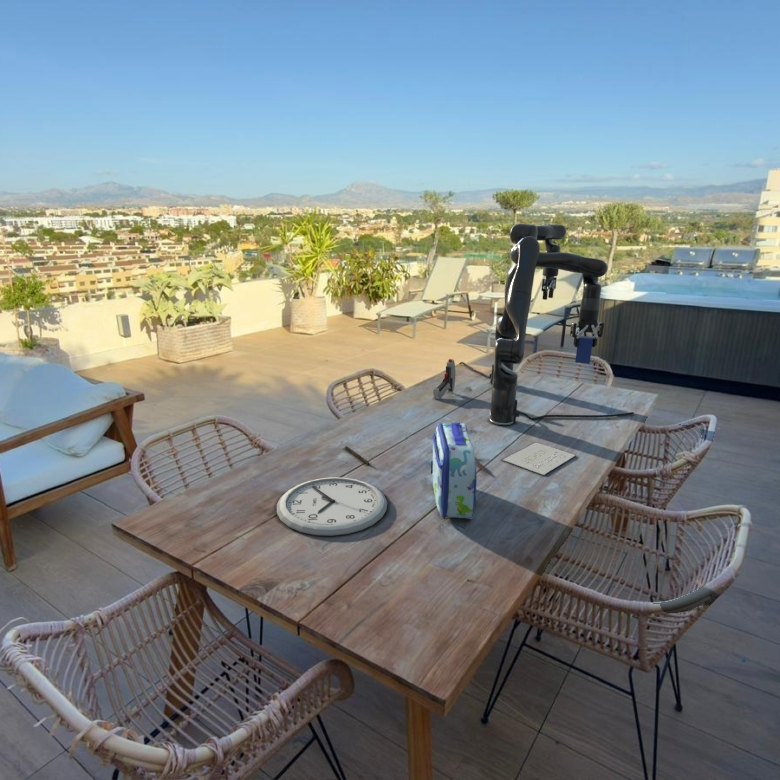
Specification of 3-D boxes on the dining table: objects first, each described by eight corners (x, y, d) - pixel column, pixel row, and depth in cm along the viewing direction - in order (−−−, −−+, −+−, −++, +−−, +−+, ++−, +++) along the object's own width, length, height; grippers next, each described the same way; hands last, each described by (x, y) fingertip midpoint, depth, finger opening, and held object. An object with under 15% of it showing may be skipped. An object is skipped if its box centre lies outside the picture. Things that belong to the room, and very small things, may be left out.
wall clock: (392, 527, 129) (268, 531, 127) (391, 533, 130) (269, 537, 127) (383, 473, 158) (282, 475, 155) (383, 478, 158) (282, 480, 156)
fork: (483, 474, 162) (483, 469, 161) (463, 454, 176) (463, 448, 176) (491, 474, 162) (491, 468, 162) (470, 453, 177) (470, 447, 176)
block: (576, 360, 229) (579, 336, 225) (590, 361, 226) (593, 337, 223) (575, 362, 225) (578, 337, 222) (589, 363, 223) (592, 339, 220)
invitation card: (535, 442, 186) (575, 454, 176) (535, 442, 187) (575, 455, 176) (502, 459, 172) (543, 474, 162) (502, 460, 172) (543, 475, 162)
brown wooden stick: (344, 448, 179) (344, 445, 179) (346, 448, 179) (346, 445, 179) (367, 464, 167) (367, 462, 167) (368, 464, 167) (368, 461, 167)
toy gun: (433, 366, 227) (451, 357, 238) (433, 400, 233) (450, 390, 244) (438, 367, 226) (455, 358, 237) (438, 401, 232) (455, 391, 243)
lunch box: (429, 478, 158) (432, 413, 152) (464, 479, 158) (468, 414, 152) (435, 525, 134) (438, 450, 127) (477, 526, 133) (482, 451, 127)
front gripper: (601, 307, 223) (595, 344, 228) (569, 306, 221) (564, 345, 226) (610, 309, 216) (604, 348, 221) (578, 309, 214) (573, 348, 219)
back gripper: (548, 265, 270) (545, 296, 275) (538, 266, 259) (535, 299, 263) (563, 265, 266) (559, 298, 270) (553, 267, 254) (550, 300, 259)
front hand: (584, 346), depth 224 cm, fingers closed on block, 7 cm apart
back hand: (547, 298), depth 267 cm, fingers open, 8 cm apart
